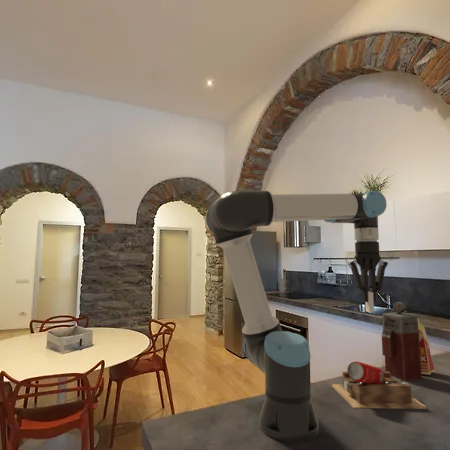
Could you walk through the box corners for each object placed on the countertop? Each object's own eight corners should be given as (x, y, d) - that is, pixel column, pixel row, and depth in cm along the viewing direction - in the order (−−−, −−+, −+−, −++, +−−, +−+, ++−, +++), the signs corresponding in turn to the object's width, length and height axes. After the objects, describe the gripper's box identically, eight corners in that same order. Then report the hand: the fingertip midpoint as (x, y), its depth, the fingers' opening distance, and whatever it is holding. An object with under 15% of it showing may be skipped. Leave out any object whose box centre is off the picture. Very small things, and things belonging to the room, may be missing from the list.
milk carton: (410, 365, 139) (407, 317, 141) (435, 370, 132) (432, 320, 134) (403, 370, 132) (400, 320, 134) (429, 376, 126) (426, 323, 128)
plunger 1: (347, 391, 104) (346, 383, 104) (344, 388, 106) (343, 380, 107) (367, 390, 104) (367, 383, 105) (364, 388, 107) (364, 380, 107)
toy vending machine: (380, 373, 128) (377, 301, 131) (401, 370, 132) (397, 300, 135) (399, 381, 120) (395, 304, 123) (421, 377, 124) (417, 302, 127)
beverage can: (380, 365, 108) (359, 354, 100) (389, 385, 104) (367, 376, 95) (364, 371, 111) (342, 361, 103) (372, 391, 106) (349, 383, 98)
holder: (353, 411, 96) (352, 389, 97) (331, 387, 114) (331, 369, 115) (426, 410, 97) (425, 388, 97) (393, 387, 114) (392, 369, 115)
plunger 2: (387, 390, 104) (386, 382, 105) (383, 387, 107) (382, 380, 107) (407, 390, 105) (407, 382, 105) (403, 387, 107) (403, 380, 107)
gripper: (352, 240, 107) (355, 313, 104) (391, 240, 107) (395, 313, 105) (343, 241, 115) (346, 310, 112) (380, 241, 115) (383, 310, 112)
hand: (369, 311), depth 108 cm, fingers closed
